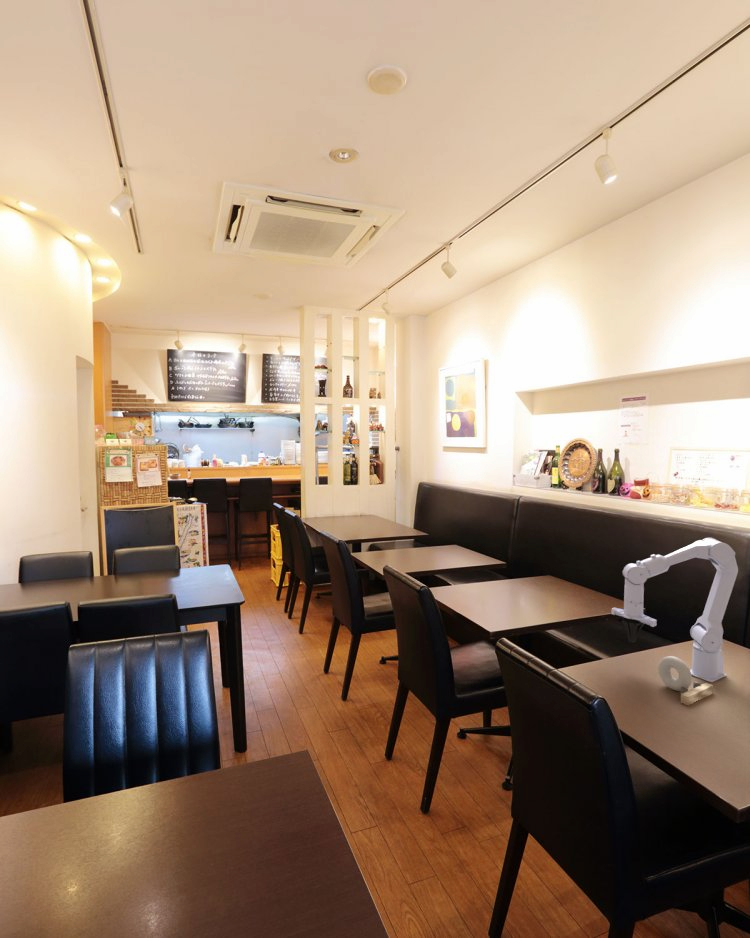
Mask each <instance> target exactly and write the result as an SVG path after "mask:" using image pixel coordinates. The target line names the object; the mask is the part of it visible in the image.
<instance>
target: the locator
mask: <svg viewBox="0 0 750 938" xmlns="http://www.w3.org/2000/svg"><path fill="white" fill-rule="evenodd" d="M692 682H693V684H692V685H693V686H692V687H693V688H692V689H689V688H685V687H681V691H680V704H682V703H684V704H683V705H685V704H686V705H685V706H687V705H688V706H690V705H692V704H694V702H695V703H696V701H697V702H699V701H701V700H703V699H705V698H706V697H708V696H711V695H713V693H714V685H713V684H710V683H708V682H705V683H702V684H701V682H700V681H696V680H695V681H692ZM698 700H699V701H698ZM689 704H690V705H689Z"/></svg>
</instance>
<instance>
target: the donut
mask: <svg viewBox="0 0 750 938" xmlns="http://www.w3.org/2000/svg"><path fill="white" fill-rule="evenodd" d="M672 668H673V669H675V671H676V672H677V674H678V678H675V677H674V676H673V674H672V672H671V669H672ZM657 669H658V670H657V671H658V674H659V677H660V679H661V681H662V683H663V684H664V685H665V686H666V687H668V688H669V689H671V690H673V691H677V692H679V691H680V692H681V687H685V688H687V689H689V687H690V686H691V684H692V682H693V681H692V679H693V678H692V676H693V675H691V672H690V670H691V669H690V668H689V666H688V665H687V663H686V662H685V661H684V660H682V659H681V658H679V657H677V656H673V655H669V656H664V657H663V658H661V659H660V661H659V663H658V665H657Z"/></svg>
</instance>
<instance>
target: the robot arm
mask: <svg viewBox="0 0 750 938" xmlns="http://www.w3.org/2000/svg"><path fill="white" fill-rule="evenodd" d="M695 558H697V559H701V560H702V559H703V560H709V561H710V562H711V564H712V565H713V566H714V568H715V569H716V573H715V575H714V578H713V580H712V581H713V582H712V583H711V587H710V590H709V594H708V597H707V600H706V602H705V606H704V610H703V612H702V615H701V616H699V617H698V618H697V620H696V622H695V623H694V625H692V626H691V628H690V630H689V633H690V637H691V638H692V639H693V643H692V659H691V662H692V663H691V669H690V672H691V676H693V677H696V678H698V679H700V680H703V681H706V682H709V683H713V682H716V681H718V680H720V679H722V678H725V677H727V673H724V664H725V663H724V662H725V661H724V659H725V656H724V652H723V651H722V649H723V646H724V639H723V634H724V628H723V623H722V622H723V619H724V616H725V613H726V610H727V606H728V603H729V600H730V598H731V595H732V592H733V588H734V585H735V582H736V579H737V576H738V573H739V567H738V564H737V563H738V562H737V558H736V551H734V549H733V548H732V547H731V546H730V545H729V544H728V543H725V542H722V541H719V540H718V539H716V538H714V537H705V538H703V539H699V540H695V541H694V542H693V543H691V544H688V545H687V546H684V547H682V548H679V549H677V550H675V551H673V552H670V553H668V554H666V555H661V554H654V553H653V554H650V557H648V558H645V559H642V560H636V563H632V562H631V563H628V564H626V565H625V566H624V567H623V570H622V576H623V577H624V590H623V591H624V593H623V596H624V597H623V608H617V607H612V608H611V611H610V612H611V615H613V616H615V615H616V616H619V617H622V618H623V619H621V623H622V625H623V626H624V628H625V631H626V634H627V639H628V642H629V643H635V642H637V640H638V636H639V634H640V631H641V630H642V628H643V627H644V625H645V624H646V625H648V626H650V627H652V628H654V627H656V626H657V621H658V620H657V619H655V618H652V617H650V616H648V615H645V614H644V596H645V595H644V592H645V586H644V584H645V583H646V582H647V580H648V579H650V578H652V577H655V576H658V575H660V574H663V573H665V572H668V570H669V569H670V567H671V566H673V565H677V564H679V563H682V562H685V561H689V560H691V559H695Z"/></svg>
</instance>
